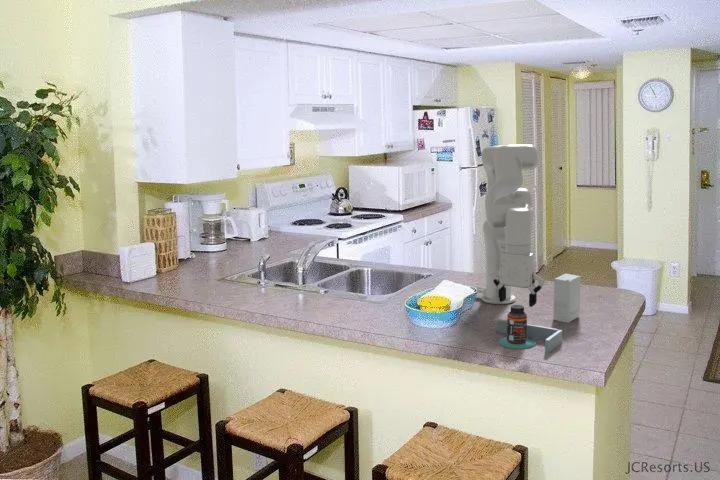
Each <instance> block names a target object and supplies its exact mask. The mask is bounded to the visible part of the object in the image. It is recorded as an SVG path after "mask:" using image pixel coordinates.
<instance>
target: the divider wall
mask: <svg viewBox="0 0 720 480" xmlns="http://www.w3.org/2000/svg"><path fill="white" fill-rule="evenodd" d="M496 332H497V333H501V334H506V335H507V320H505V319H497V320H496ZM527 338H531V339H535V340H542V341H544V353H545V354H550V353H551V352H552V351H553V350H555V349H556V348H558V346H560V345H561V344H562V343H563V329H558V328H555V327H549V326H541V325H535V324H530V323H527Z"/></svg>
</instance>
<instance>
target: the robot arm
mask: <svg viewBox="0 0 720 480" xmlns="http://www.w3.org/2000/svg"><path fill="white" fill-rule="evenodd" d="M480 155H481V162H482V166H483V168H484V171H485V173H486V178H487V192H486V194H485V199H484V209H485V210H484V211H485V217H486V219H485V221H484V222H483V225H482V232H483V239H484V248H485V287H483V286H476V293H479V294H482V295H481V301H482V302H484V303H487V304H491V305H492V304H493V305H508V304H512V303H514V302H515V301H516V298H517V297H516V296H515V295H513V294H512V287H514V288H522V289H528V291H529V292H530V293H529V295H528V306H529V307H530V308H533V307H534V306H535V305H536V304H537V297H538V296H537V295H538V292H540V291H541V289H543V287H544V286H545V284H546V279H544V278H543V277H541V276H540V275H538V274H537V273H536V266H535V259H534V255H533V252H532V226H533V223H532V222H533V220H534V209H533V197H532V193H531V191H530V190H529V189H527V188H523V187H522V186H523V183H524V177H523V172H522V171H525V170H530V171H532V170H535V169H537V167H538V163H539V153H538V150H537V148H536V147H535V145H533V144H530V143H529V144H526V143H525V144H504V145H490V146H486V147H484V148H483V149H482V150H481V154H480ZM531 252H532V253H531ZM536 282H538V284H537V285H535V283H536Z"/></svg>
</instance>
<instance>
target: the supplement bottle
mask: <svg viewBox="0 0 720 480" xmlns="http://www.w3.org/2000/svg"><path fill="white" fill-rule="evenodd" d="M506 321H507V334H506V337H507V341H508V342H510V343H513V344H523V343H525V342H526V338H528V337H527V324H528V314H527V313H526V312H525V306H524V305H522V304H512V305H510V311H509V312H508V313H507V320H506Z"/></svg>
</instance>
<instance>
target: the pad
mask: <svg viewBox="0 0 720 480" xmlns="http://www.w3.org/2000/svg"><path fill="white" fill-rule="evenodd" d="M498 343H499V345H501V346H502V347H504V348H506V349H507V348H508V349H513V350H514V349H515V350H526V349H531V348H533V347H535V346H536V345H537V343H536V341H535V340H534V338H529V337H527V338H526V342H525V343H523V344H513V343H510V342H508V341H507V336H505V337H502V338H500V339H499V341H498Z"/></svg>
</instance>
